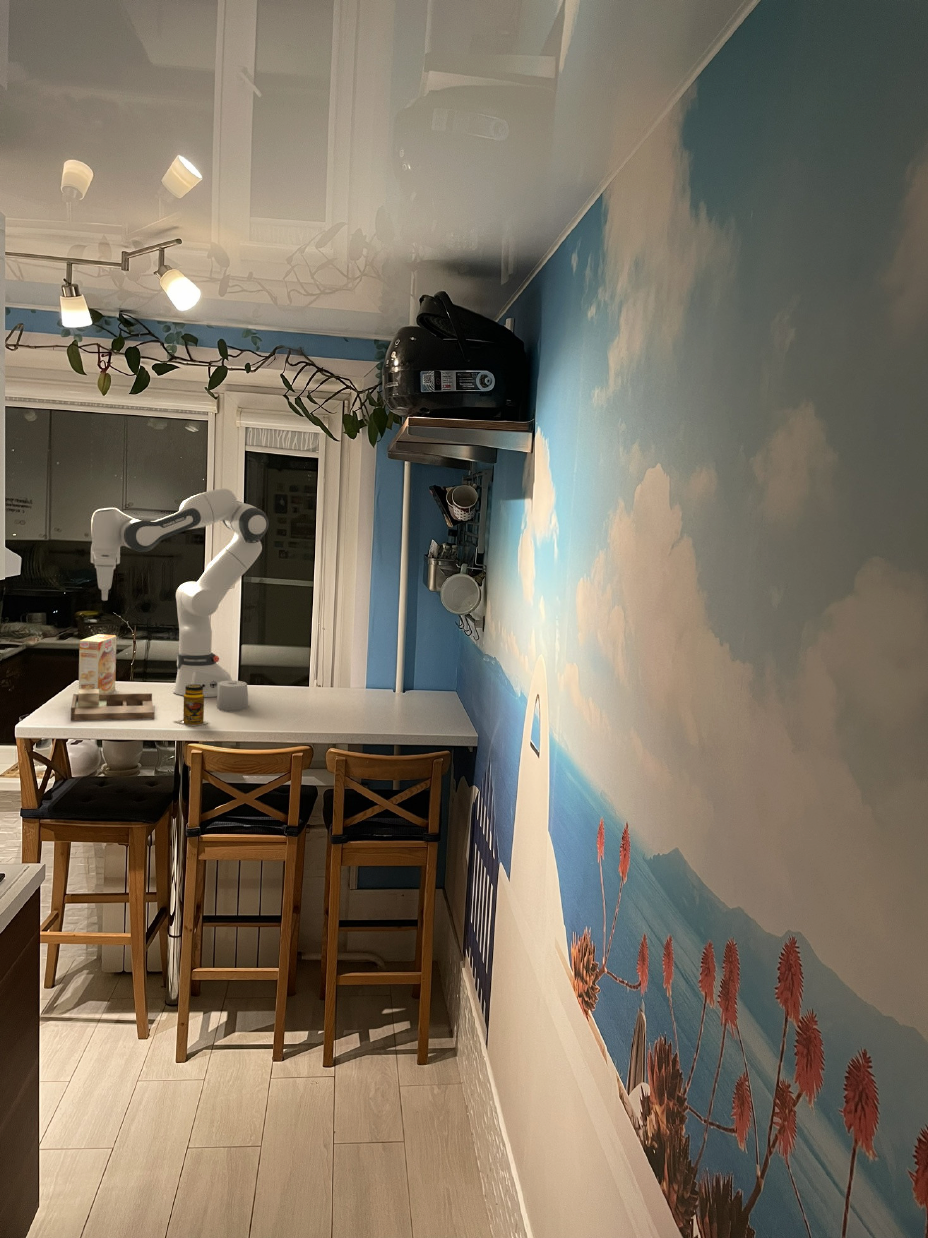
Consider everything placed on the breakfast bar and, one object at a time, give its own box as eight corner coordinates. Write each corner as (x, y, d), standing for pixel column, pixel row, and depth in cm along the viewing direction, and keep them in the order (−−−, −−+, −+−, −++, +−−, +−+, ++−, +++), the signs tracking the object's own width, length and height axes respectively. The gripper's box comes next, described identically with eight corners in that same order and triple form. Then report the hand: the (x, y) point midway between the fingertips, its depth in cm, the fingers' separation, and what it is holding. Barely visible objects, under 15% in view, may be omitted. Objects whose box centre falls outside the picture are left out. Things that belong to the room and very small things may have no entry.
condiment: (191, 727, 280) (192, 689, 278) (173, 722, 284) (174, 684, 283) (210, 723, 286) (211, 685, 284) (192, 718, 290) (193, 681, 289)
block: (99, 701, 295) (99, 689, 295) (98, 705, 290) (98, 693, 289) (78, 701, 293) (79, 689, 293) (78, 705, 288) (78, 693, 287)
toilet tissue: (252, 703, 314) (253, 679, 313) (240, 713, 301) (241, 687, 300) (226, 701, 315) (227, 677, 313) (213, 710, 301) (214, 685, 300)
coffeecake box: (98, 699, 306) (99, 641, 303) (77, 697, 306) (78, 640, 304) (116, 689, 321) (117, 635, 318) (96, 688, 321) (97, 633, 318)
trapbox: (151, 704, 303) (151, 693, 303) (153, 718, 286) (154, 706, 286) (73, 706, 294) (73, 694, 294) (70, 720, 278) (71, 707, 277)
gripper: (95, 554, 305) (94, 595, 307) (94, 560, 286) (93, 603, 288) (115, 555, 307) (115, 596, 309) (115, 560, 288) (115, 604, 290)
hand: (104, 599), depth 298 cm, fingers closed
